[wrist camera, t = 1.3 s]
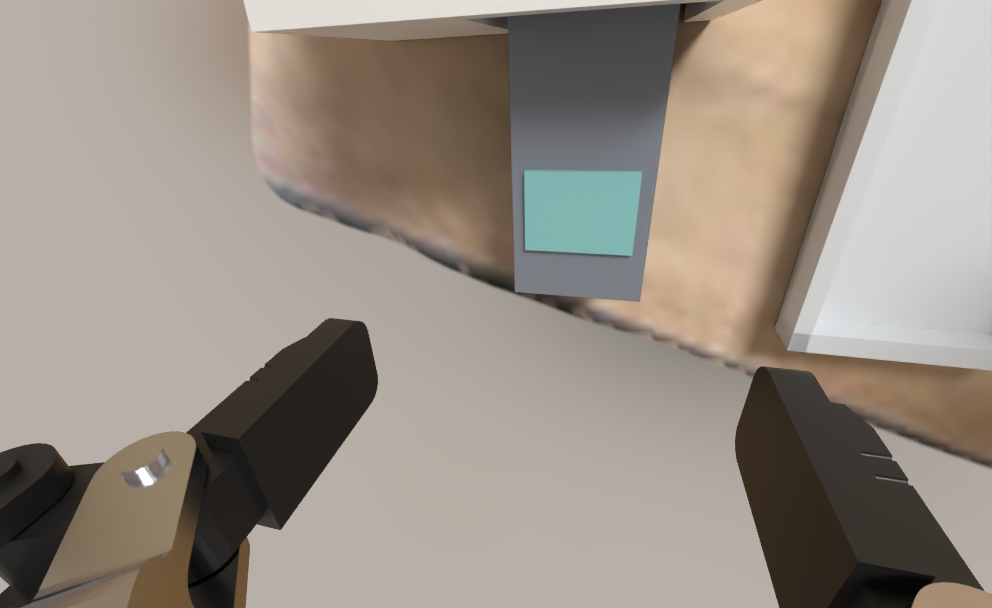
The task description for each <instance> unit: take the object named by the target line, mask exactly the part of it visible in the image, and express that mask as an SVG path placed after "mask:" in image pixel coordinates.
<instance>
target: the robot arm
mask: <svg viewBox="0 0 992 608" xmlns="http://www.w3.org/2000/svg"><path fill="white" fill-rule="evenodd" d="M377 385H378V375H377V370H376V366H375V361H374V357H373V352H372V348H371V343H370V338H369V334H368V330H367V327H366V325H365V324H364V323H363V322H361V321H352V320H343V319H334V318H329V319H327V320H325V321H324V322H323V323H321V324H320V325H319V326H318V327H317V328H316V329H315V330H314V331H312V332H311V333H310V334H309V335H308V336H307V337H305V338H303V339H301V340H299V341H297V342H295V343H293V344H291V345H289V346H288V347H286V348H284V349H282V350H281V351H280V352H279V353H277V354H276V355H275V356H274V357H273V358H272V359H271V360H269V361H268V362H267V363H266V364H265V367H264V368H260V369H259V370H258V371H257V372H256V373H254V374H253V375H252V376H251V377H250V380H249V381H245V382H244V383H243V384H242V385H241V386H240V387H238V388H237V389H236V390H235V391H234V392H233V393H231V394H230V395H229V396H228V397H227V398H226V399H225V400H224V401H222V402H221V403H220V404H219V405H218V406H217V407H215V408H214V409H213V410H212V411H211V412H210V413H209V414H207V415H206V416H205V417H204V418H203V419H202V420H200V421H199V422H198V423H197V424H196V425H195V426H194V427H192V428H191V429H190V430H189V431H188V432H187V433H184V432H164V433H159V434H155V435H152V436H149V437H146V438H144V439H141V440H139V441H137V442H135V443H133V444H131V445H129V446H127V447H125V448H124V449H122V450H121V451H119V452H118V453H116V454H115V455H113V456H112V457H111V458H110V459H108V460H107V461H106V462H104V463H94V464H85V465H75V466H68V465H67V464H66V462H65V461H64V460H63V458H62V457H61V456H60V455H59V453H58V452H57V451H56V449H55V448H54V447H53V446H51V445H48V444H41V443H39V444H29V445H24V446H20V447H16V448H12V449H10V450H7V451H4V452H1V453H0V577H1V578H2V579H3V580H4V581H6V582H7V583H8V584H9V585H10V586H9V587H8V588H7V589H6V590H4V591H3V592H2V593H1V594H0V608H245V606H246V594H247V580H248V567H249V554H250V544H249V541H248V538H247V536H248V534H249V533H250V532H251V531H252V529H253V528H254V527H255V525H256V524H258V525H262V526H266V527H270V528H274V529H279V530H281V529H282V527H283V526H284V525H285V523H286V522H287V520H288V519H289V518H290V516H291V515H292V513H293V512H294V511H295V509H296V508H297V506H298V505H299V504H300V502H301V501H302V499H303V498H304V497H305V495H306V494H307V492H308V491H309V490H310V488H311V487H312V485H313V484H314V483H315V481H316V480H317V478H318V477H319V475H320V474H321V473H322V471H323V470H324V469H325V467H326V466H327V464H328V463H329V462H330V460H331V459H332V457H333V456H334V455H335V453H336V452H337V450H338V449H339V448H340V446H341V445H342V443H343V442H344V441H345V439H346V438H347V436H348V435H349V434H350V432H351V431H352V429H353V428H354V427H355V425H356V424H357V422H358V421H359V420H360V418H361V417H362V415H363V414H364V413H365V411H366V410H367V408H368V407H369V405H370V404H371V403H372V401H373V399H374V397H375V394H376V391H377ZM735 450H736V458H737V463H738V466H739V470H740V473H741V476H742V480H743V483H744V487H745V490H746V493H747V497H748V501H749V504H750V507H751V511H752V515H753V518H754V521H755V525H756V528H757V532H758V535H759V538H760V542H761V546H762V549H763V553H764V556H765V559H766V563H767V566H768V570H769V573H770V576H771V580H772V584H773V587H774V591H775V594H776V598H777V601H778V604H779V608H992V594H989V593H987V592H985V591H984V589H983V588H982V587H981V586H980V584H979V583H978V581H977V580H976V578H975V577H974V575H973V574H972V572H971V571H970V569H969V568H968V566H967V565H966V564H965V562H964V560H963V559H962V558H961V556H960V555H959V553H958V552H957V550H956V549H955V547H954V546H953V544H952V543H951V542H950V540H949V538H948V537H947V536H946V534H945V533H944V531H943V530H942V528H941V527H940V525H939V524H938V522H937V521H936V519H935V518H934V517H933V515H932V514H931V512H930V511H929V509H928V508H927V506H926V505H925V503H924V502H923V500H922V499H921V497H920V496H919V494H918V493H917V491H916V490H915V489H914V487H913V486H910V485H908V478H907V477H906V476H905V474H904V472H903V471H902V469H901V468H900V466H899V465H898V464H897V462H896V461H892V455H891V453H890V452H889V450H888V449H887V447H886V446H885V444H884V443H883V442H882V440H881V439H880V437H879V436H878V434H877V433H876V431H875V430H874V428H872V427H871V426H870V425H869V424H867V423H866V422H865V421H864V420H863V419H861V418H860V417H859V416H858V415H856V414H855V413H854V412H853V411H852V410H850V409H849V408H848V407H847V406H845V405H844V404H836V403H830V401H829V399H828V398H827V396H826V394H825V393H824V391H823V389H822V388H821V386H820V385H819V383H818V381H817V380H816V378H815V377H814V375H813V374H812V373H810V372H808V371H799V370H790V369H781V368H772V367H763V366H762V367H759V368H758V369H757V371H756V373H755V375H754V377H753V380H752V383H751V387H750V390H749V393H748V396H747V399H746V402H745V405H744V408H743V411H742V414H741V417H740V420H739V423H738V426H737V430H736V438H735Z"/></svg>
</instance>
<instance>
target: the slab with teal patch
mask: <svg viewBox="0 0 992 608" xmlns="http://www.w3.org/2000/svg"><path fill="white" fill-rule="evenodd" d="M680 5H681V3H680V4H666V5H653V6H639V7H626V8H612V9H599V10H585V11H572V12H558V13H545V14H531V15H518V16H508V48H509V86H510V124H511V162H512V200H513V238H514V276H515V292H522V293H534V294H547V295H560V296H573V297H586V298H598V299H611V300H624V301H637V302H640V296H641V289H642V282H643V275H644V267H645V260H646V253H647V245H648V238H649V231H650V224H651V216H652V209H653V202H654V194H655V187H656V180H657V173H658V165H659V158H660V151H661V143H662V136H663V129H664V122H665V114H666V107H667V100H668V92H669V85H670V78H671V71H672V63H673V56H674V49H675V41H676V34H677V27H678V20H679V12H680Z"/></svg>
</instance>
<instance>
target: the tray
mask: <svg viewBox="0 0 992 608" xmlns="http://www.w3.org/2000/svg"><path fill="white" fill-rule="evenodd" d="M774 328H775V330H776V332H777V334H778V335H779V337H780V339H781V341H782V343H783V344H784V346H785V348H786V350H787V351H797V352H807V353H817V354H827V355H838V356H848V357H858V358H868V359H879V360H889V361H899V362H909V363H920V364H930V365H940V366H950V367H961V368H971V369H981V370H991V371H992V0H882V1H881V4H880V7H879V10H878V13H877V16H876V19H875V22H874V25H873V28H872V31H871V34H870V38H869V41H868V44H867V47H866V50H865V53H864V56H863V59H862V62H861V65H860V68H859V71H858V74H857V77H856V80H855V83H854V86H853V89H852V92H851V95H850V99H849V102H848V105H847V108H846V111H845V114H844V117H843V120H842V123H841V126H840V129H839V132H838V135H837V138H836V141H835V144H834V147H833V150H832V153H831V157H830V160H829V163H828V166H827V169H826V172H825V175H824V178H823V181H822V184H821V187H820V190H819V193H818V196H817V199H816V202H815V205H814V208H813V211H812V214H811V218H810V221H809V224H808V227H807V230H806V233H805V236H804V239H803V242H802V245H801V248H800V251H799V254H798V257H797V260H796V263H795V266H794V269H793V272H792V276H791V279H790V282H789V285H788V288H787V291H786V294H785V297H784V300H783V303H782V306H781V309H780V312H779V315H778V318H777V321H776V324H775V327H774Z"/></svg>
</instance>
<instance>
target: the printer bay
mask: <svg viewBox="0 0 992 608" xmlns="http://www.w3.org/2000/svg"><path fill="white" fill-rule="evenodd" d="M243 1H244V5H245V9H246V12H247V16H248V20H249V23H250V27H251V31H252V32H261V33H277V34H293V35H309V36H325V37H341V38H357V39H373V40H389V41H397V40H413V39H428V38H444V37H459V36H475V35H490V34H506V33H508V16H518V15H531V14H545V13H558V12H572V11H585V10H599V9H612V8H626V7H639V6H653V5H666V4H680V3H686V9H685V16H684V22H692V21H707V20H713V19H716V18H718V17H721V16H724V15H726V14H729V13H731V12H734V11H737V10H739V9H742V8H744V7H747V6H749V5H752V4H755V3H757V2H760V1H762V0H243Z"/></svg>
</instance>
